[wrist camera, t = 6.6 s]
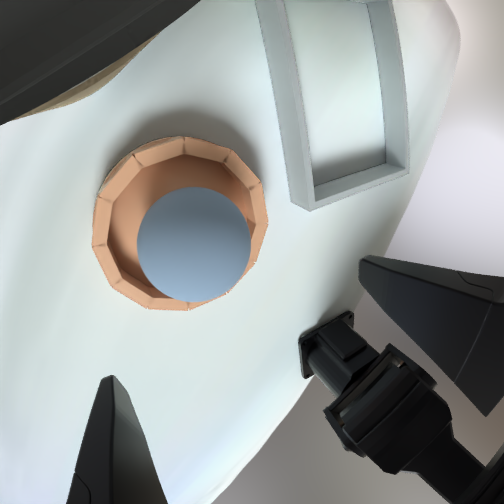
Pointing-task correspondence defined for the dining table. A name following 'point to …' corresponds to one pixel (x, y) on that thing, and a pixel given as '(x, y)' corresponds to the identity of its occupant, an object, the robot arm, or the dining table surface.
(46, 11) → the coffee cup
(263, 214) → the bowl
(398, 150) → the shallow serving tray
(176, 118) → the dining table surface
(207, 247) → the ball
